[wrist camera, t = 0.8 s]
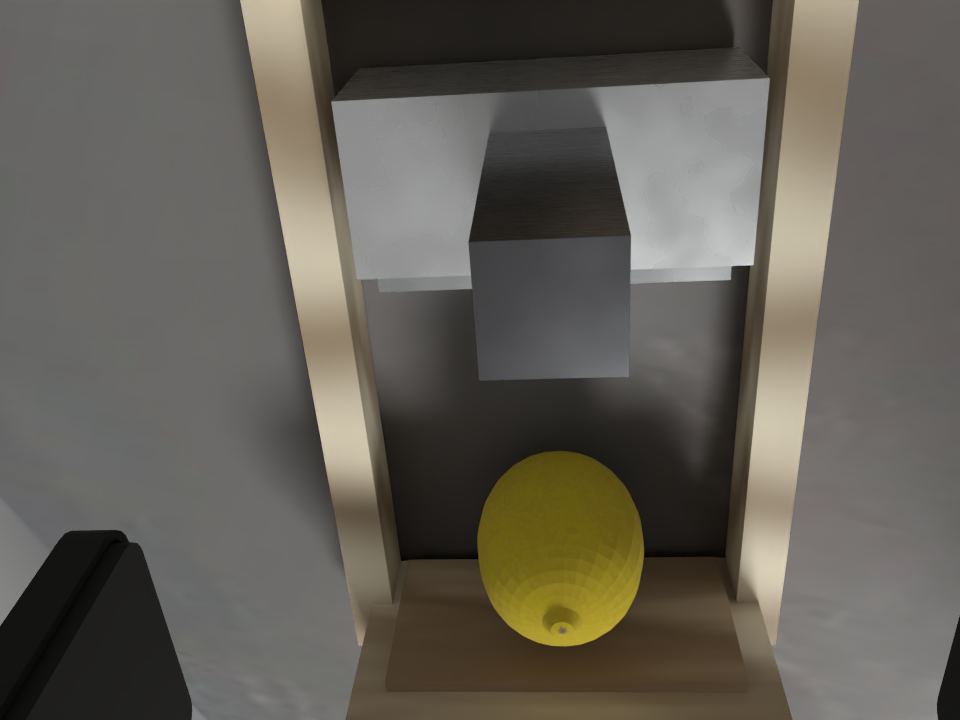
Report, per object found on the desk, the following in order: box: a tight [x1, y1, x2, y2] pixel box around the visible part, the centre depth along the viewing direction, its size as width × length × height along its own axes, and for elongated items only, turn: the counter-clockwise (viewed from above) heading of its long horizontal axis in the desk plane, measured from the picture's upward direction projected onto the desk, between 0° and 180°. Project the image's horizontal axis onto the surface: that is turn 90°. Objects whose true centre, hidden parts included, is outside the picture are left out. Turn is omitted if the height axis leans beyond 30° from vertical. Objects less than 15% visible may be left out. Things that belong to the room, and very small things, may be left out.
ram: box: [331, 47, 770, 381], centre depth 23 cm, size 6×11×12 cm, turn 94°
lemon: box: [477, 451, 644, 646], centre depth 30 cm, size 6×6×8 cm
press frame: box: [240, 0, 859, 720], centre depth 27 cm, size 26×16×8 cm, turn 4°
